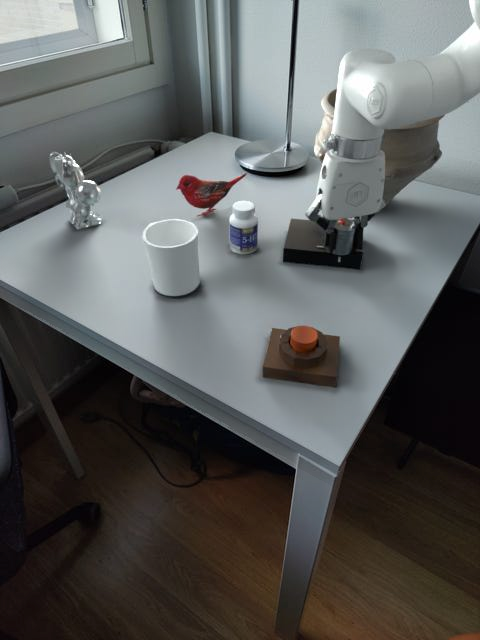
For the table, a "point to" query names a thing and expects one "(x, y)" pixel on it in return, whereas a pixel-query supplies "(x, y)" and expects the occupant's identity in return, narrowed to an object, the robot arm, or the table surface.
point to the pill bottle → (243, 228)
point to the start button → (303, 339)
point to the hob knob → (344, 236)
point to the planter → (392, 148)
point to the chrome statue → (76, 190)
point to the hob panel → (315, 247)
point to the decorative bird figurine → (205, 191)
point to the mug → (173, 257)
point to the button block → (302, 359)
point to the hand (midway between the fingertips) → (340, 245)
